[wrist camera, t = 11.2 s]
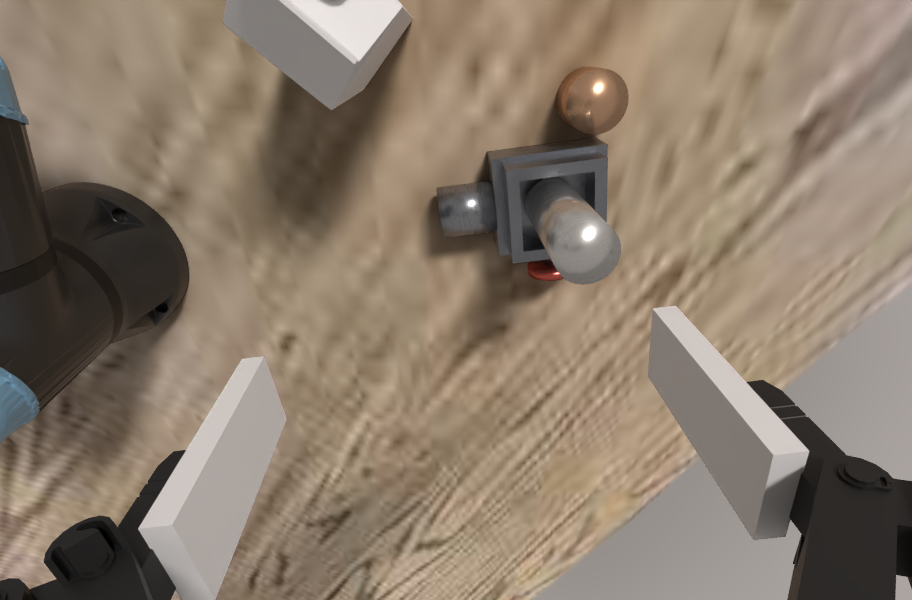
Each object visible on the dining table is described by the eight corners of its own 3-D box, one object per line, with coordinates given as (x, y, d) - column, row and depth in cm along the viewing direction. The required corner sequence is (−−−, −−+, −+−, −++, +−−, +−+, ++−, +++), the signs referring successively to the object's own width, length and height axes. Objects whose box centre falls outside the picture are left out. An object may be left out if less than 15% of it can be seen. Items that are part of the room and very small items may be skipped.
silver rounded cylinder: (526, 231, 46) (554, 288, 35) (523, 181, 44) (552, 226, 33) (576, 224, 46) (619, 279, 35) (576, 175, 43) (622, 217, 33)
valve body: (449, 274, 51) (451, 303, 45) (433, 158, 46) (432, 175, 40) (594, 256, 51) (615, 283, 45) (595, 137, 45) (619, 150, 40)
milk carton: (363, 90, 43) (317, 120, 26) (291, 30, 41) (190, 21, 24) (414, 17, 41) (398, -1, 24) (340, -50, 38) (266, -124, 21)
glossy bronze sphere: (557, 130, 45) (567, 138, 42) (555, 70, 43) (566, 73, 39) (612, 123, 45) (627, 130, 42) (613, 62, 43) (629, 64, 39)
